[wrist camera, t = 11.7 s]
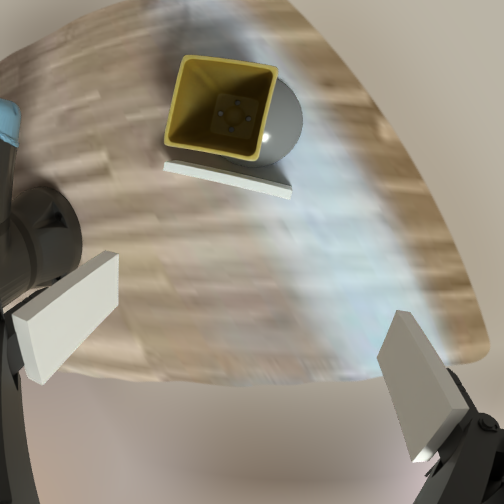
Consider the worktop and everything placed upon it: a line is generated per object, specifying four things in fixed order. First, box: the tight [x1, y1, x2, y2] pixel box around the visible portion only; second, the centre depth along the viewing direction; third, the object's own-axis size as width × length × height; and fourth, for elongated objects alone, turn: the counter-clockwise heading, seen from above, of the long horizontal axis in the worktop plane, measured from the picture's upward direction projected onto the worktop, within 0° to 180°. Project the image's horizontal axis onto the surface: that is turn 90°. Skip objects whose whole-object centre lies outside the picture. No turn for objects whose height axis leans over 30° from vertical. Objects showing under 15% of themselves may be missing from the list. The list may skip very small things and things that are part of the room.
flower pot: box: [164, 55, 278, 161], centre depth 29 cm, size 9×9×9 cm
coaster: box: [218, 79, 303, 167], centre depth 34 cm, size 11×11×1 cm
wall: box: [163, 160, 292, 200], centre depth 35 cm, size 14×1×4 cm, turn 77°
